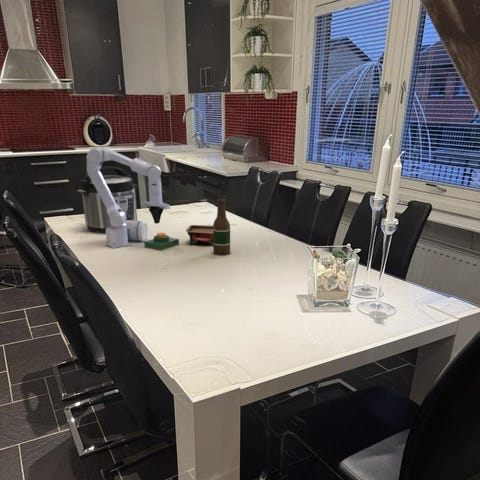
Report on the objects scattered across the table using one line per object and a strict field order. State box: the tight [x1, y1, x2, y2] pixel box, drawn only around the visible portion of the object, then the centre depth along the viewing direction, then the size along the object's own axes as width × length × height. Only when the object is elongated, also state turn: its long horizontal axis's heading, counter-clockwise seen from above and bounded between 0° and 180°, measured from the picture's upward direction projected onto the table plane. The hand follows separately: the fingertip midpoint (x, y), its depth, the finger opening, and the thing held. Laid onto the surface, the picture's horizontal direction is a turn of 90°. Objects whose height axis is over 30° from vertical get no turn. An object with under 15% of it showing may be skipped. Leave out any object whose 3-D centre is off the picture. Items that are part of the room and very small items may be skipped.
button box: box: [143, 234, 180, 251], centre depth 219 cm, size 13×10×4 cm
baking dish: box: [185, 224, 213, 246], centre depth 224 cm, size 14×18×10 cm
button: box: [156, 232, 167, 238], centre depth 218 cm, size 4×4×2 cm
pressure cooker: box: [76, 166, 138, 234], centre depth 243 cm, size 30×28×32 cm
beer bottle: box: [212, 197, 231, 256], centre depth 205 cm, size 8×8×24 cm
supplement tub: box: [125, 220, 149, 242], centre depth 227 cm, size 10×10×15 cm
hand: (157, 223), depth 217 cm, fingers closed
